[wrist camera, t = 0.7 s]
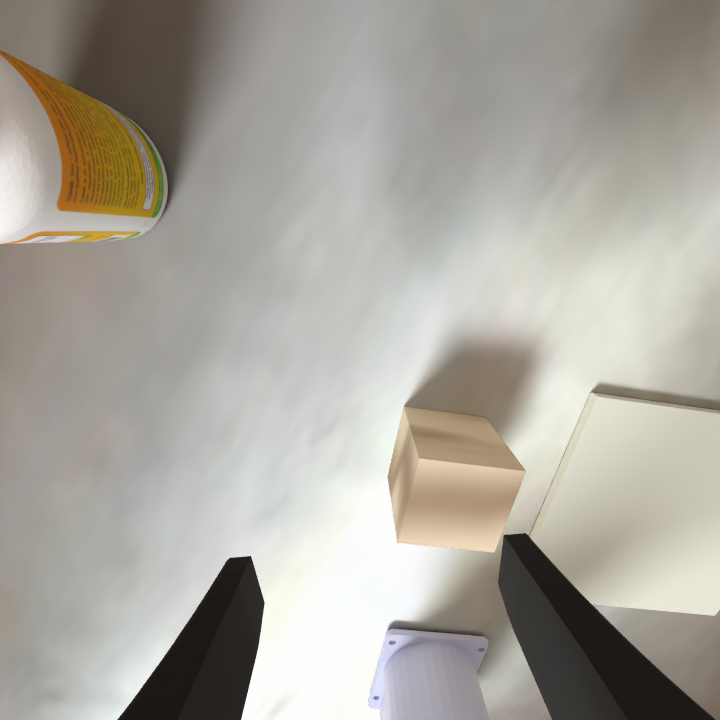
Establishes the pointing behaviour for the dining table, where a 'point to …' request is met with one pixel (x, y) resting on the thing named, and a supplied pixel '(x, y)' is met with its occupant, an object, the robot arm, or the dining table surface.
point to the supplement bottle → (71, 164)
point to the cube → (451, 481)
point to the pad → (638, 506)
